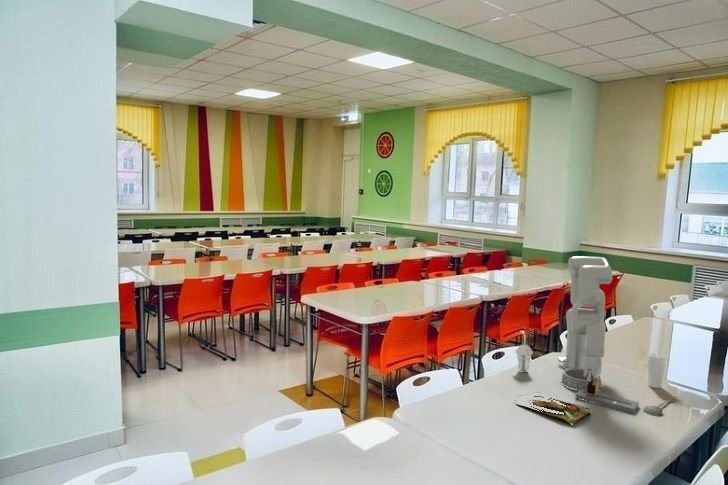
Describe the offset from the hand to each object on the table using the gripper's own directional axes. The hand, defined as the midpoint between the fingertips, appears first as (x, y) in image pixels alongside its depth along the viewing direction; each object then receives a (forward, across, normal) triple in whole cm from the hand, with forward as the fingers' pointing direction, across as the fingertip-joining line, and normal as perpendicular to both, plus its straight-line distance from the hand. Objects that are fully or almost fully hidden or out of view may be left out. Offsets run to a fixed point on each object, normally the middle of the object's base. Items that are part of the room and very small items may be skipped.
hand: (592, 391), depth 219 cm
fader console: (+3, 0, +6) cm, 7 cm away
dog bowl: (+4, -14, -9) cm, 17 cm away
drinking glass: (+3, -35, +18) cm, 40 cm away
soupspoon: (+4, -10, +25) cm, 27 cm away
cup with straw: (+3, -13, -37) cm, 39 cm away
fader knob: (+1, 0, 0) cm, 1 cm away
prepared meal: (+4, +22, -9) cm, 25 cm away
